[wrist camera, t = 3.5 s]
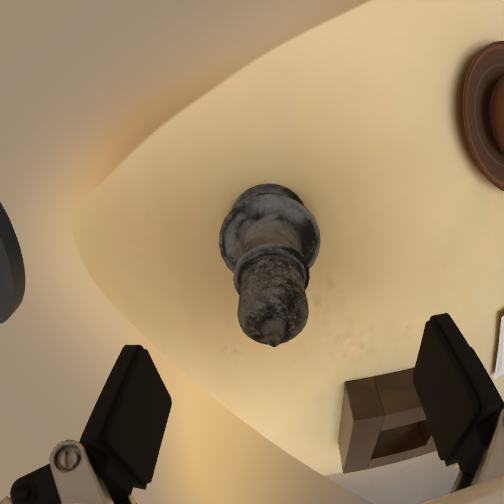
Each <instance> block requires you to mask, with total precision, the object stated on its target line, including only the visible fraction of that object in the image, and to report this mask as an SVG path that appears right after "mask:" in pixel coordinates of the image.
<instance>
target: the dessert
mask: <svg viewBox="0 0 504 504" xmlns="http://www.w3.org/2000/svg"><path fill="white" fill-rule="evenodd" d="M503 374H504V316H502V318H501V327H500V338H499V347H498V355H497V362H496V368H495V375H494V380H495V379H497V378H499V377H500V376H502V375H503Z"/></svg>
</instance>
